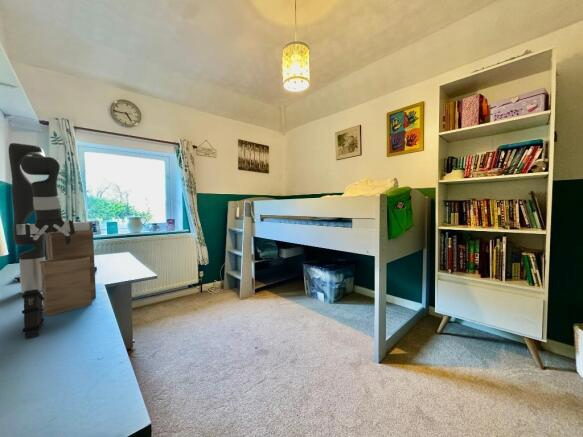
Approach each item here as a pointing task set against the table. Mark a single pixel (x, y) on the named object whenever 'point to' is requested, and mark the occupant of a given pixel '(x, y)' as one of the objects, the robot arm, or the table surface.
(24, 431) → the table surface
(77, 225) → the bar
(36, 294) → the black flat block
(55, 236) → the wooden plank crate
